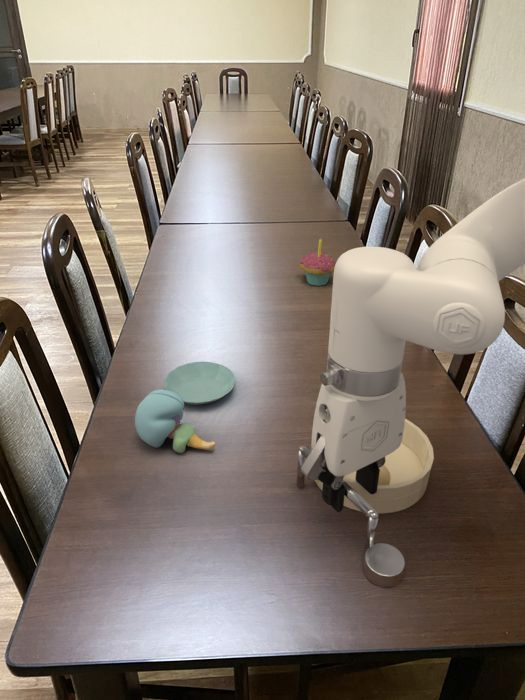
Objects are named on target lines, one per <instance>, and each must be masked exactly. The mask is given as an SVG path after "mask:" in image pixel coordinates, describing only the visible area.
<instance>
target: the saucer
mask: <svg viewBox="0 0 525 700" xmlns="http://www.w3.org/2000/svg"><path fill="white" fill-rule="evenodd" d="M235 384H236V376H235V374H234V373H233V371H232V370H231V369H230V368H228V367H227V366H225V365H223V364H220V363H217V362H211V361H193V362H188V363H185V364H182V365H180V366H177V367H176V368H174V369H172V370H171V371H170V372H169V373H168V374H167V375H166V376H165V378H164V380H163V388H164V390H169V391H172V392H175V393H177V394H178V395H180V396H181V397H182V399H183V401H184V404H190V405H204V404H205V405H206V404H209V403H213V402H215V401H216V402H217V401H218V400H220V399H221V398H223V397H225V396H226V395H227V394H229V393H230V392H231V391H232V390H233V388H234V386H235Z"/></svg>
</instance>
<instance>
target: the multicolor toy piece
mask: <svg viewBox="0 0 525 700" xmlns="http://www.w3.org/2000/svg"><path fill="white" fill-rule="evenodd" d="M184 409H185V402H184V401H183V399H182V397H181V396H180V395H178V394H177V393H175V392H172V391H169V390H165V389H163V388H161V389H160V388H159V389H155V390H152V391H151V392H149V393H148V395H146V396H145V397H144V398H143V400H141V402H140V403H139V405H138V406H137V408H136V411H135V414H134V426H135V430H136V433H137V435H138V437H139V438H140V439H141V440H142V441H143V442H144V443H146V444H148V446H152V447H153V448H160V447H161V446H163V444H164V442H165V440H166V439H167V438H169V439H173V440H172V448H173V450H174V452H176V453H178V454H182V453H183V454H184V452H185V451H186V448H187V447H191V448H194V449H198V450H205V451H213V450H214V449H215V448H216V442H215V441H211V442H209V441H205V440H204V439H202V438H200V437H199V436H198V435H197V434H196V428H195V426H194V425H193V424H190V423H186V422H181V420H183V417H184Z"/></svg>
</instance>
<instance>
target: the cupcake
mask: <svg viewBox="0 0 525 700" xmlns="http://www.w3.org/2000/svg"><path fill="white" fill-rule="evenodd" d="M322 244H323V239H322V236H320V238H319V239H318V248H317V251H313V252H310V253H308V254H306V255H304V256H303V257H302V258H300V262H299V268H300V269H301V270H303V273H304V274H305V277H306V282H307V283H308V284H309V285H311V286H317V287H320V286H321V287H322V286H325V285H326V284H328V283H329V282H328V281H329V279H330V276H331V275H332V274H333V273H334V268H335V264H336V262H337V260H335V257H334V258H333V256H331V255H330V254H326V253H325V252H322Z"/></svg>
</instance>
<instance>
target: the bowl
mask: <svg viewBox="0 0 525 700" xmlns="http://www.w3.org/2000/svg"><path fill="white" fill-rule="evenodd" d="M310 450H311V451H312V448H311V447H310ZM385 460H386V461H385V464H384V465H385V466H386V467H387V469H388V470H389V472H390V477H391V479H390V484H389V485H378V487H377V492H376V493H375V494H373V495H372V494H370V493H369V492H368V491H366V490H365V489H364V488H363V487H362V486H361V485H360V484H359V483H358V482H357V481H356V479H355V478H356V471H355V472H352V473H350V474H348V475H345V476H344V478H343V480H344V481H345V482H346V483H347V484H348V485H349V486H350V487H351V488H353V489H354V490H355V491H356V492H357V493H358V494H359V495H360V496H361V497H362V498H363V499H365V500H366V501H367V502H368V503H369V504H370V505H371V506H372V507H373V508H374V509H375V510H376V512H377V513H378V515H381V514H393V513H398V512H401V511H403V510H406V509H408V508H410V507H412V506H414V505H415V504H417V503H418V502H419V501H420V500H421V499H422V497H423V496H424V494H425V493H426V491H427V489H428V485H429V481H430V478H431V474H432V470H433V465H434V461H435V455H434V447H433V445H432V443H431V441H430V439H429V437H428V436H427V434H425V432H424V431H423V430H422V429H421V428H420V427H419V426H417V425H416V424H415V423H413V422H412V421H410V420H409V419H407V418H405V424H404V432H403V438H402V442H401V445H400V446H399V448H398V449H397V450H395V451H394V452H392V453H391V454H389V455H387V456H385ZM313 481H314V482H315V484H316V486H317V487H318V488H319V489H320V490H321V491H322V488H323V483H322V482H321V481H320V480H313ZM343 507H346V508H348V509H350V510H354V511H357V512H361V513H363V512H362V511H361V510H360V509H359V508H358V507H357V506H355V505H354V504H353V503H352V502H351V501H350V500H349V499H348V498H347V497H346V496H344V505H343Z"/></svg>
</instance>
